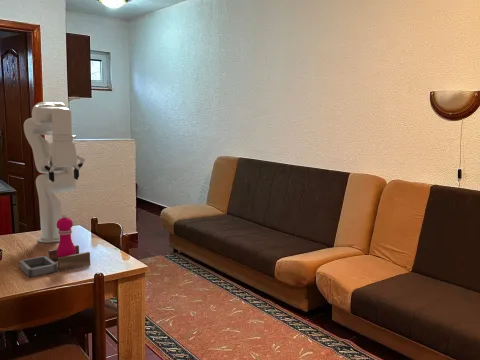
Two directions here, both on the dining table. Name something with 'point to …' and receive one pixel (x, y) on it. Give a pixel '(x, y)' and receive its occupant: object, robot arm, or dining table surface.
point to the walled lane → (70, 259)
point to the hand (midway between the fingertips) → (64, 180)
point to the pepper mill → (65, 237)
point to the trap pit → (37, 266)
